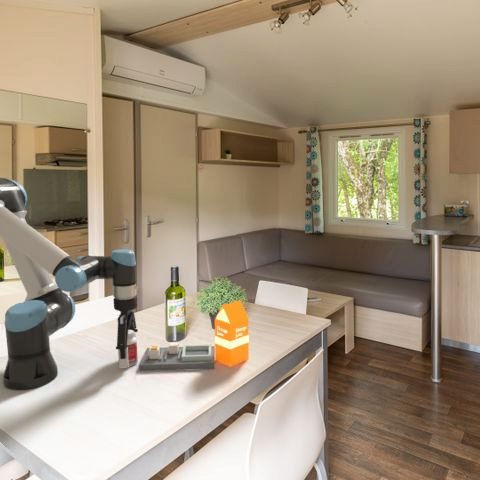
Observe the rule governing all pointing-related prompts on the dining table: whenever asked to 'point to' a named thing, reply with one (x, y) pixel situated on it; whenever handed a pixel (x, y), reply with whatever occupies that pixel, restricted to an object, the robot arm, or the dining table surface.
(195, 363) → the panel
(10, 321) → the robot arm
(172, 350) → the toggle plain
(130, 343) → the pill bottle
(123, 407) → the dining table surface
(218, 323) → the orange juice
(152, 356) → the block
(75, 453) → the dining table surface
